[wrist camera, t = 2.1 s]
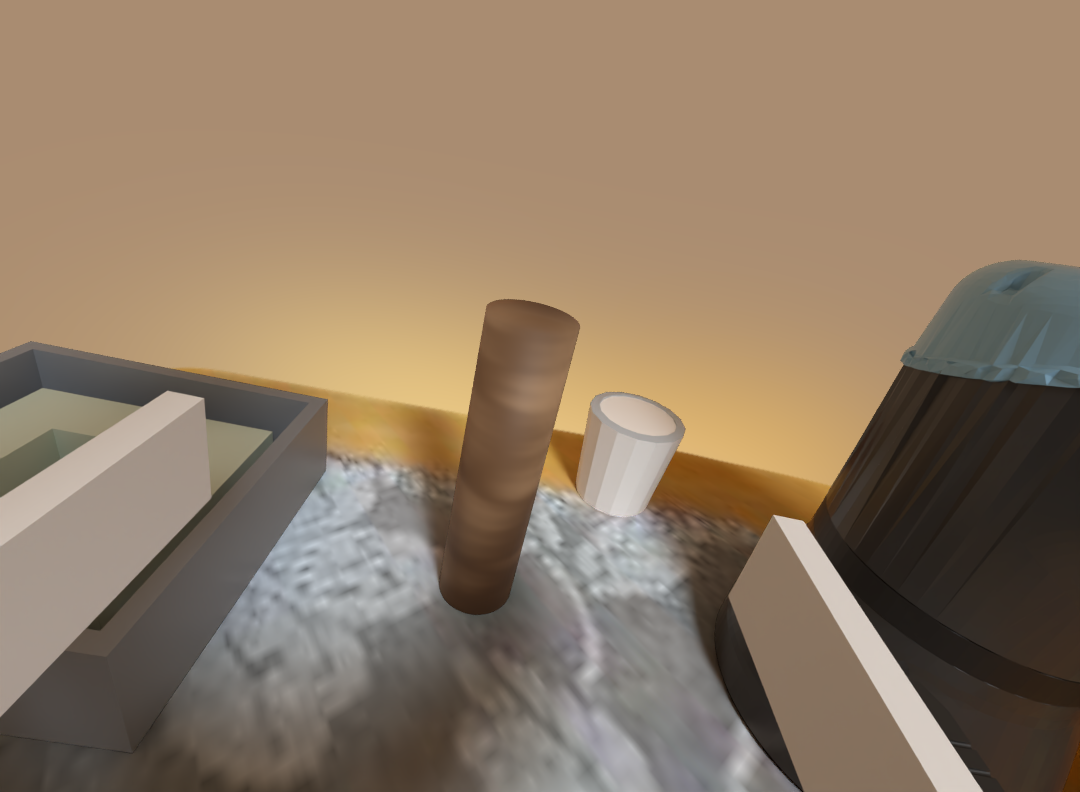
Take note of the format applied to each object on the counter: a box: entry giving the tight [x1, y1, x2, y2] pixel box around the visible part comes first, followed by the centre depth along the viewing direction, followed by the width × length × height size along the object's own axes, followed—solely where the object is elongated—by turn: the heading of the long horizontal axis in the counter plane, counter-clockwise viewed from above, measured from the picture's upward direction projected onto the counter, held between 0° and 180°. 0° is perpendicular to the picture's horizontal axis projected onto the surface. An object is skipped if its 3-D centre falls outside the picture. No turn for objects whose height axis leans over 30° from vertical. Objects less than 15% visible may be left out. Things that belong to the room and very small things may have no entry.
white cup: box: [576, 392, 685, 517], centre depth 37 cm, size 7×7×7 cm
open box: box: [0, 341, 328, 753], centre depth 25 cm, size 18×18×6 cm
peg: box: [439, 299, 580, 615], centre depth 25 cm, size 4×4×16 cm
